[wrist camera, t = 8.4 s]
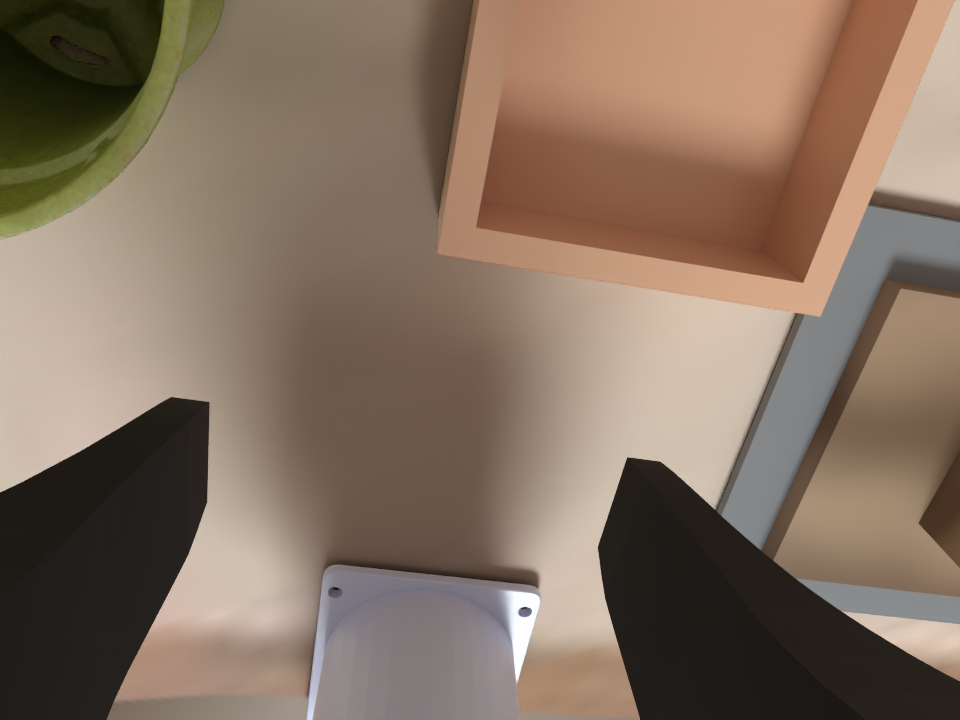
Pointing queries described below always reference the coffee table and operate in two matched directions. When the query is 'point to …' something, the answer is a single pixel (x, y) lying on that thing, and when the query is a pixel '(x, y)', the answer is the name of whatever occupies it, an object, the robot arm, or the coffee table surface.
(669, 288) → the dish
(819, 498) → the lid
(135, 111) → the plant pot
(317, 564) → the coffee table surface
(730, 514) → the mat
